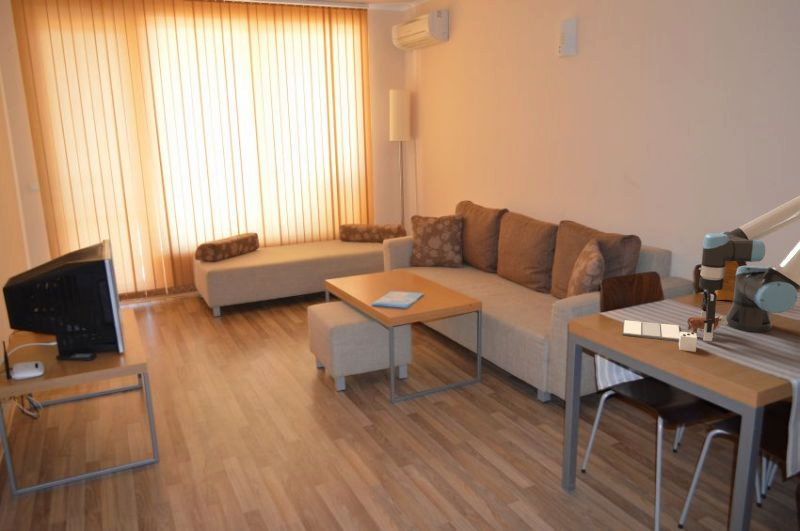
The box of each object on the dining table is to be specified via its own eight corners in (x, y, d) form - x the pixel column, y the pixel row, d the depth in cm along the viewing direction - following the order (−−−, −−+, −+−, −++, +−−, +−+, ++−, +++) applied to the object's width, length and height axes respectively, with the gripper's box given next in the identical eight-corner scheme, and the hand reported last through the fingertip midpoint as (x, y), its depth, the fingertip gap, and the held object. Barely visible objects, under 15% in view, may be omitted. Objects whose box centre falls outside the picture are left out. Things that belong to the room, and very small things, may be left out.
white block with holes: (694, 346, 209) (695, 331, 208) (695, 351, 205) (697, 336, 204) (678, 345, 211) (680, 330, 210) (679, 350, 207) (680, 334, 205)
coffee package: (739, 296, 268) (745, 247, 263) (738, 303, 257) (744, 252, 252) (714, 293, 273) (720, 245, 268) (712, 300, 262) (717, 250, 257)
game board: (678, 327, 229) (678, 325, 229) (681, 341, 214) (681, 338, 214) (623, 322, 236) (624, 319, 236) (622, 335, 221) (622, 332, 221)
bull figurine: (727, 339, 216) (730, 317, 214) (687, 337, 218) (689, 315, 216) (723, 335, 220) (726, 313, 218) (684, 333, 222) (686, 312, 221)
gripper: (697, 268, 227) (691, 322, 231) (703, 285, 204) (697, 344, 209) (719, 270, 224) (713, 324, 229) (728, 287, 201) (721, 347, 206)
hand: (705, 334), depth 219 cm, fingers open, 13 cm apart
